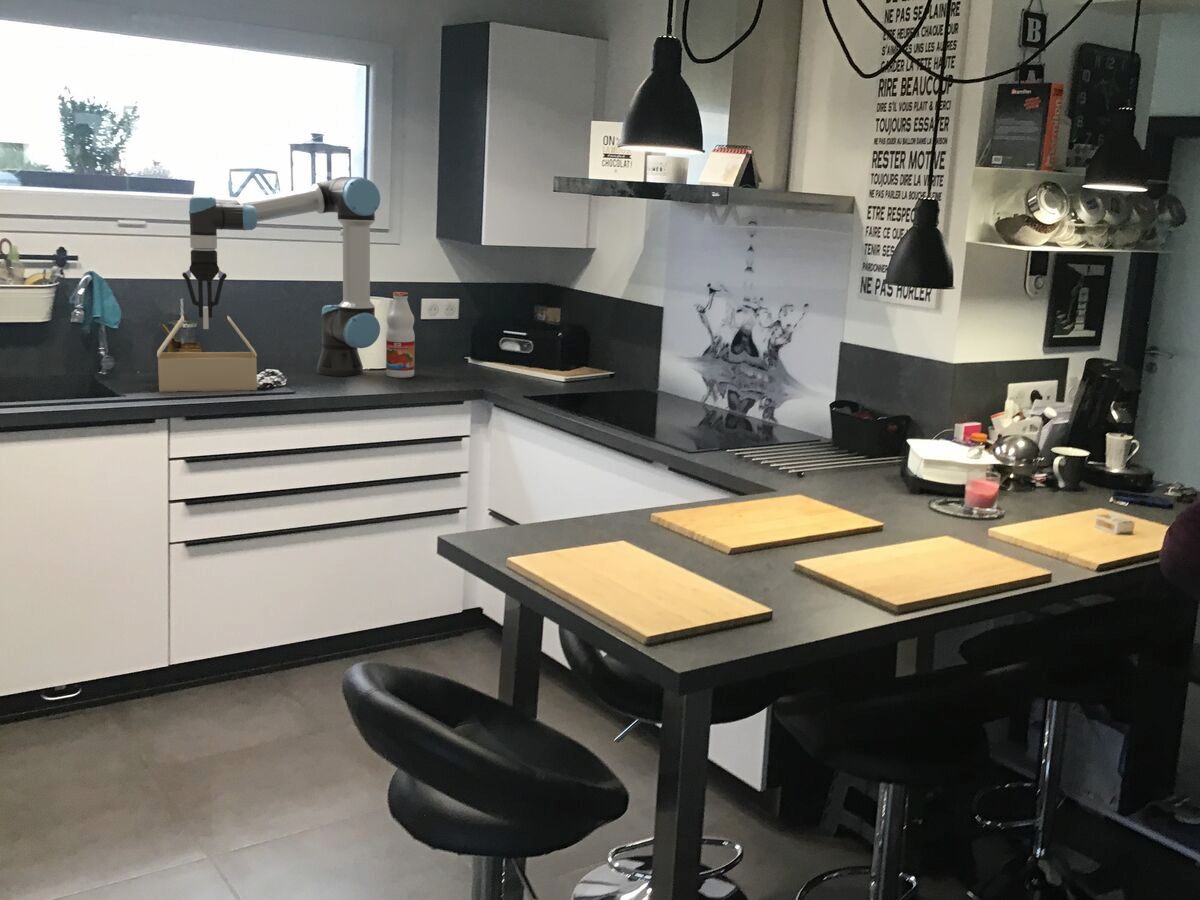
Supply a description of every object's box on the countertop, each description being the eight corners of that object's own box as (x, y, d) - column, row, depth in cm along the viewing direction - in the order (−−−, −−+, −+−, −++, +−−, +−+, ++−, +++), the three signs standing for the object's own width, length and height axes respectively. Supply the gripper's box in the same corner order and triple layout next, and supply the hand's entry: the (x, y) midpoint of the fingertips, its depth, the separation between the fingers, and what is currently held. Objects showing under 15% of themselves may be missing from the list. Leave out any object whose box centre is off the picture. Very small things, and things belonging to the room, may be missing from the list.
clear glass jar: (162, 376, 378) (160, 320, 374) (206, 376, 382) (204, 320, 378) (159, 380, 370) (157, 323, 366) (205, 380, 373) (203, 323, 369)
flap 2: (253, 351, 369) (254, 350, 369) (255, 356, 357) (257, 355, 357) (227, 316, 364) (228, 315, 364) (228, 321, 352) (230, 320, 353)
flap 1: (158, 357, 348) (156, 356, 348) (158, 351, 360) (157, 350, 359) (184, 321, 348) (182, 320, 348) (183, 316, 360) (182, 315, 360)
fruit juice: (417, 374, 402) (418, 292, 396) (409, 378, 393) (410, 294, 387) (391, 373, 403) (391, 290, 397) (382, 377, 394) (382, 292, 388)
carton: (254, 383, 371) (253, 352, 369) (257, 390, 359) (256, 358, 357) (159, 385, 362) (158, 352, 360) (159, 392, 350) (157, 358, 348)
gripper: (226, 249, 357) (228, 327, 362) (180, 248, 353) (183, 326, 358) (227, 250, 350) (229, 330, 355) (180, 249, 346) (183, 329, 351)
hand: (205, 328), depth 357 cm, fingers closed
